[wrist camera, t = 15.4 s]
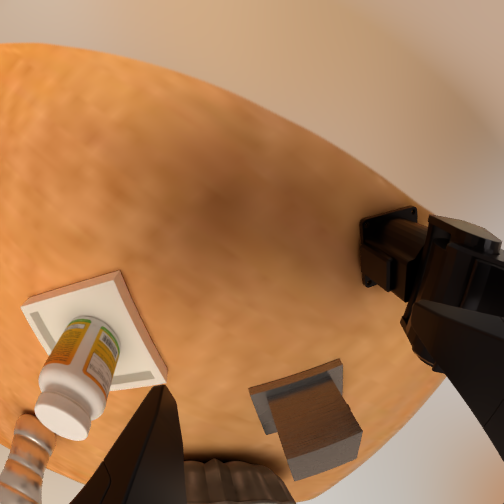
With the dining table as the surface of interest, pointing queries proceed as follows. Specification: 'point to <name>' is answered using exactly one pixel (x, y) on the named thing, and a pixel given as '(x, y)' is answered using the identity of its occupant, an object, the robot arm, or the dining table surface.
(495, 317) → the robot arm
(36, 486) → the plastic bottle
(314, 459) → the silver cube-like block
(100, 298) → the white tray
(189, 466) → the bundt pan
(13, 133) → the dining table surface
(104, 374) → the supplement bottle
